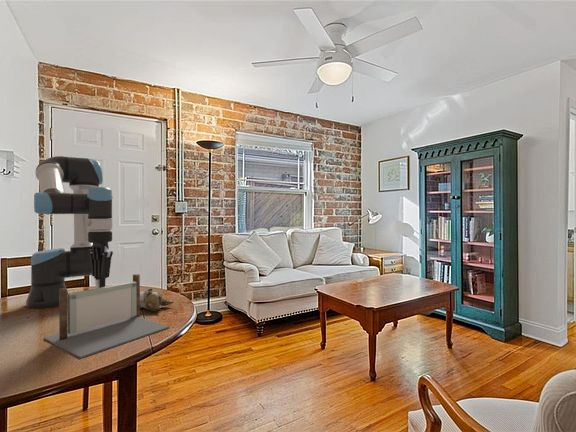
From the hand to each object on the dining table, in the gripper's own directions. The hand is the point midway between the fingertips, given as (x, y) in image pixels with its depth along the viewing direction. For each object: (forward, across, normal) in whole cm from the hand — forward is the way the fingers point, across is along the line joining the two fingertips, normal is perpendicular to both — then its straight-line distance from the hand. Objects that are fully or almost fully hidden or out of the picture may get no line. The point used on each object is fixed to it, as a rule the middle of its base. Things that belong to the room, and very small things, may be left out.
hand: (100, 297), depth 115 cm
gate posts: (+10, +4, -1) cm, 11 cm away
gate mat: (+10, +12, -3) cm, 15 cm away
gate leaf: (+8, +6, -1) cm, 10 cm away
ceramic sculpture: (+10, -2, +21) cm, 23 cm away
